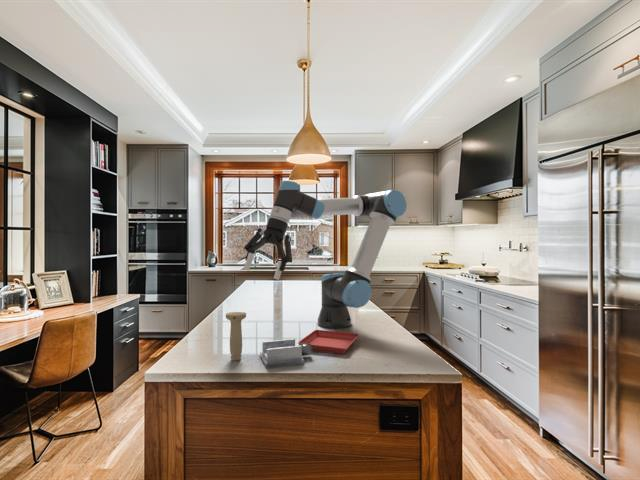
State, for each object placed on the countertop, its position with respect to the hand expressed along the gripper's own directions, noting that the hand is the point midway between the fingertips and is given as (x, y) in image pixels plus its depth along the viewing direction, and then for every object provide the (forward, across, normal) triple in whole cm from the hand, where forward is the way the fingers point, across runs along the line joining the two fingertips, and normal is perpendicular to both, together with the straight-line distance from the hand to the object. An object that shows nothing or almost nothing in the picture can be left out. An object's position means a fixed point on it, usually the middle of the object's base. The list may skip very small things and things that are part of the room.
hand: (260, 274), depth 135 cm
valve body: (+24, +21, -2) cm, 32 cm away
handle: (+29, +7, -9) cm, 31 cm away
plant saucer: (+18, +28, +16) cm, 37 cm away
